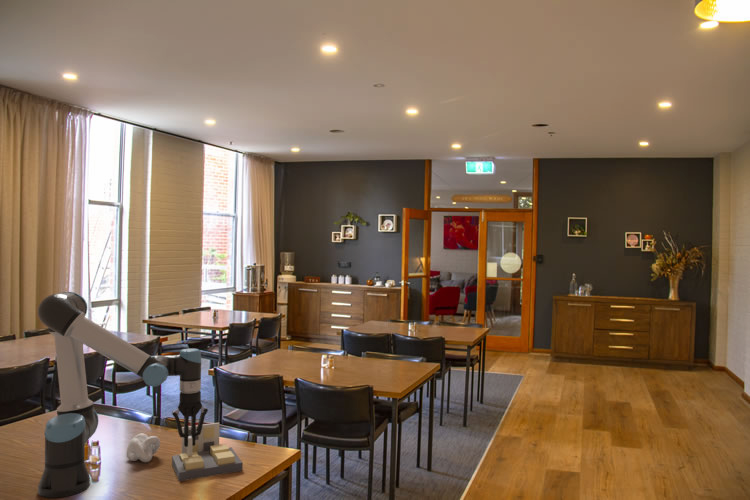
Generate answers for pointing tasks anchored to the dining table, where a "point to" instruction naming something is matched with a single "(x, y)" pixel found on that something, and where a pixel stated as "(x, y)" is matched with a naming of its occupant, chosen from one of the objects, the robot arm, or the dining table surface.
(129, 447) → the white knot
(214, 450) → the button
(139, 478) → the dining table surface
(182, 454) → the button
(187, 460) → the button
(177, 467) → the button board
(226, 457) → the button
